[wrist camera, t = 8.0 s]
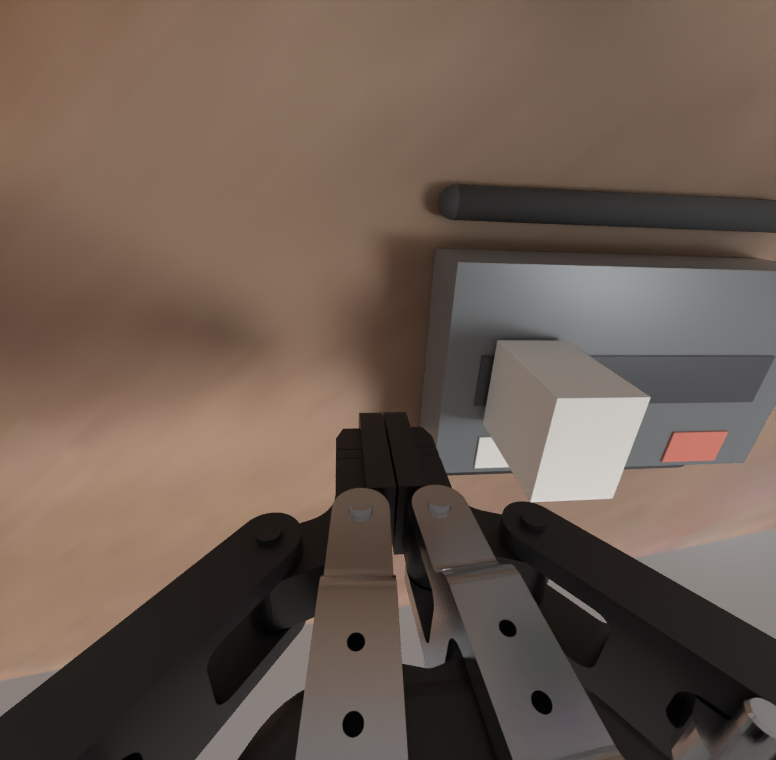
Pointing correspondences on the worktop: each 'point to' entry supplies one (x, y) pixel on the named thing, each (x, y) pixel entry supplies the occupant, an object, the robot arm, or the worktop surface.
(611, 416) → the handle
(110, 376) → the worktop surface
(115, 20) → the worktop surface
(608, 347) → the breaker panel
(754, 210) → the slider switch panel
